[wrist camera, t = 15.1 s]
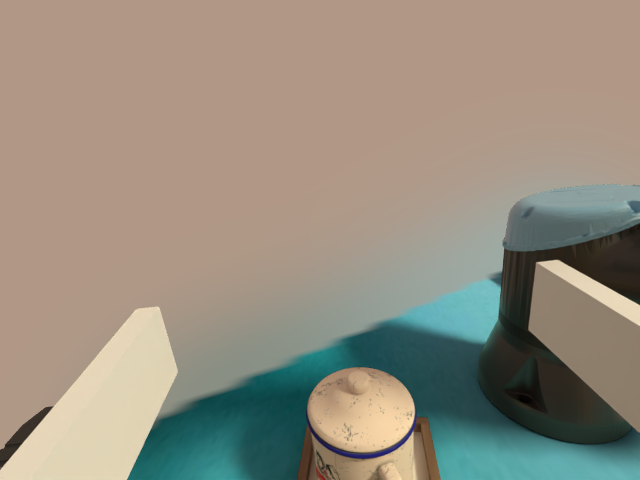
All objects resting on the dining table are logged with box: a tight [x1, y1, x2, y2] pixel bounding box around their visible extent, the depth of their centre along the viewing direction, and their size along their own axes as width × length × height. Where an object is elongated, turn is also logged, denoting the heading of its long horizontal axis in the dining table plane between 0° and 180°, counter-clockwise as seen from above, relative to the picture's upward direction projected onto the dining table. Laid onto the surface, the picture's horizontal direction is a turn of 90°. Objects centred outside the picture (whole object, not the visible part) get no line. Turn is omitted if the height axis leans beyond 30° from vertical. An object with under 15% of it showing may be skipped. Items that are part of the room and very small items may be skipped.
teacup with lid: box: [306, 367, 417, 480], centre depth 29 cm, size 12×9×12 cm
